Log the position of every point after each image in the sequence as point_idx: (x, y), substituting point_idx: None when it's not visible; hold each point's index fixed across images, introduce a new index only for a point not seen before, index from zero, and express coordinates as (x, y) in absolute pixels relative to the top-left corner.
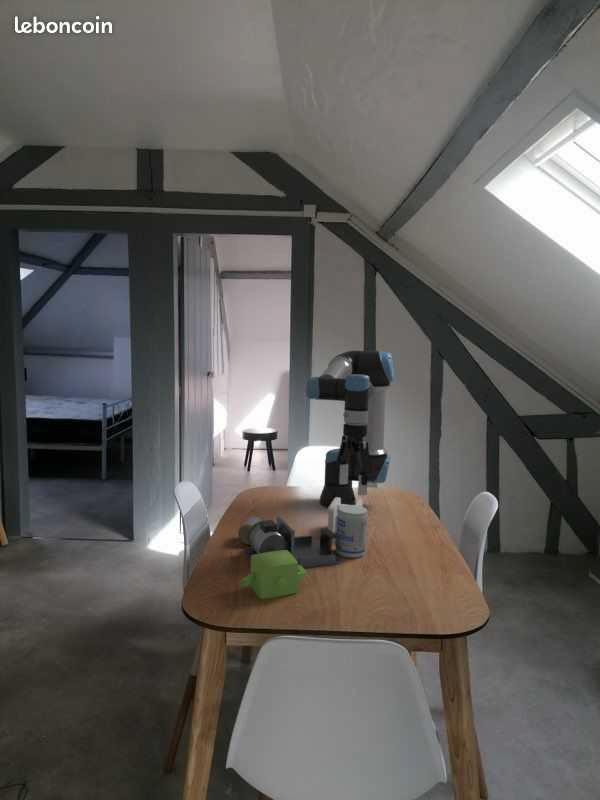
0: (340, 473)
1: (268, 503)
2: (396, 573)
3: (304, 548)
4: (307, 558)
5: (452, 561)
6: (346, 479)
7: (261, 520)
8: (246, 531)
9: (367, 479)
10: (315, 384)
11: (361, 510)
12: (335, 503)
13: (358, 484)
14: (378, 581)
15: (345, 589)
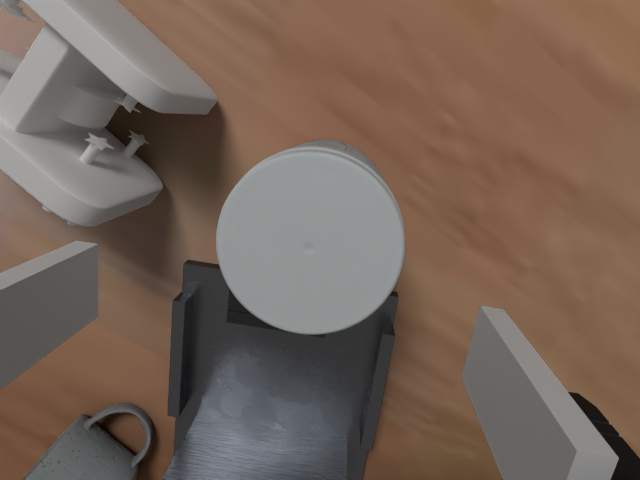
0: (14, 371)
1: None
2: (578, 153)
3: (243, 348)
4: (376, 424)
5: None
6: (69, 272)
7: (47, 466)
8: None
9: (626, 444)
10: None
11: (357, 214)
12: (18, 156)
13: (492, 446)
14: (591, 259)
15: (573, 386)
